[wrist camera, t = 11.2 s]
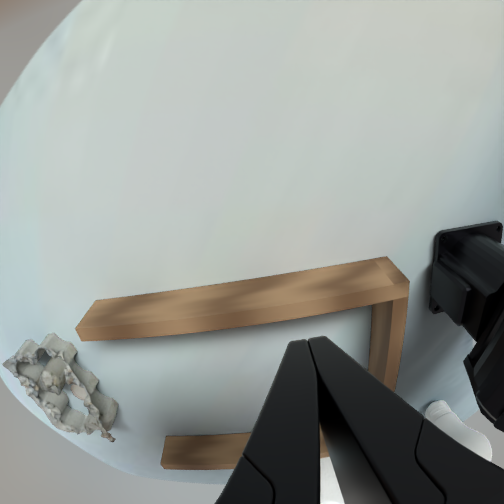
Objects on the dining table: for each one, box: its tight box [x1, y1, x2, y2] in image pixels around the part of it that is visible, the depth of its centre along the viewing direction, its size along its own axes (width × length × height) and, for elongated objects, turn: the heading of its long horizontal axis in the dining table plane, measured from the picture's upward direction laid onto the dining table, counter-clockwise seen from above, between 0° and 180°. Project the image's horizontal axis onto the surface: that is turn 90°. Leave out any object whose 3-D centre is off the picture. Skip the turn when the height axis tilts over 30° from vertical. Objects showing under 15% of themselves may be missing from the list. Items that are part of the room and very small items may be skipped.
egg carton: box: [3, 333, 118, 442], centre depth 22 cm, size 11×8×4 cm
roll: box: [320, 457, 345, 504], centre depth 23 cm, size 6×12×6 cm
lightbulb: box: [425, 400, 492, 462], centre depth 21 cm, size 6×6×11 cm
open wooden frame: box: [75, 256, 410, 470], centre depth 21 cm, size 20×17×4 cm
